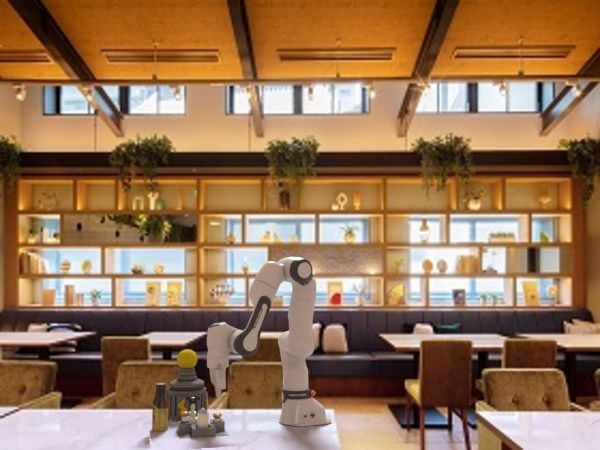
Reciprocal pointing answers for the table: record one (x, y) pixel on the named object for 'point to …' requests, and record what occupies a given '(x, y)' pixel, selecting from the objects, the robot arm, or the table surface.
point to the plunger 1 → (184, 416)
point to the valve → (192, 408)
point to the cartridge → (202, 419)
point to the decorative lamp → (186, 387)
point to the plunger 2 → (217, 416)
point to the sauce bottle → (160, 409)
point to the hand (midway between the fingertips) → (218, 397)
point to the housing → (201, 429)
